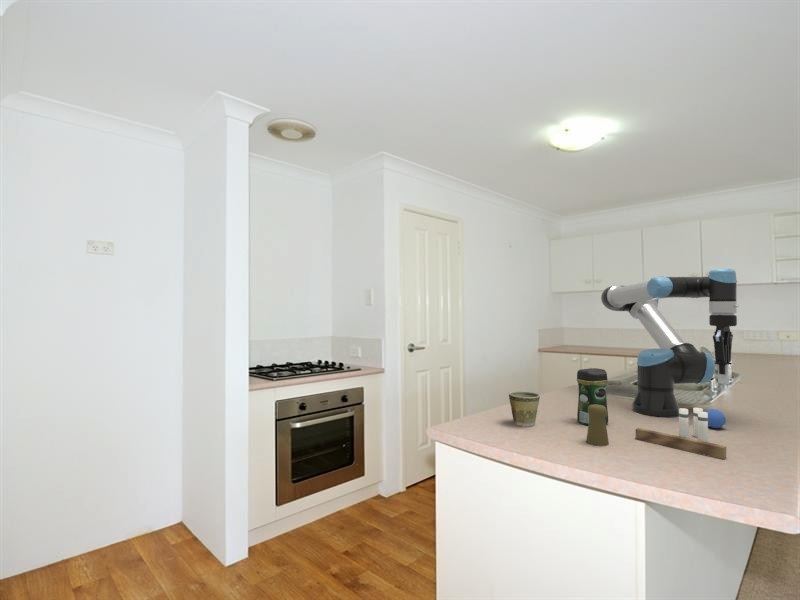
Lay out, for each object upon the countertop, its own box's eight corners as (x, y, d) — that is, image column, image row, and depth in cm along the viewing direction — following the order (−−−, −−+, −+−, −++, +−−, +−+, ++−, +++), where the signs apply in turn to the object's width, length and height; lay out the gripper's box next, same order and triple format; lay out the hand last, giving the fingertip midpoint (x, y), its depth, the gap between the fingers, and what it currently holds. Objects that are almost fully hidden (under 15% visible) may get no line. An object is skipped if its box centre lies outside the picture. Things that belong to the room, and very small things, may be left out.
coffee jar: (594, 418, 154) (594, 366, 154) (612, 424, 146) (612, 369, 147) (572, 421, 150) (572, 367, 151) (590, 427, 143) (589, 370, 143)
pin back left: (678, 437, 132) (678, 409, 132) (679, 435, 134) (679, 407, 134) (687, 439, 131) (687, 410, 131) (689, 437, 132) (689, 408, 132)
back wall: (635, 438, 131) (635, 428, 131) (638, 437, 132) (638, 427, 132) (723, 459, 114) (723, 447, 114) (726, 457, 115) (726, 446, 115)
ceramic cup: (533, 430, 140) (533, 398, 140) (504, 424, 146) (504, 395, 146) (546, 421, 150) (546, 392, 151) (519, 416, 157) (519, 388, 157)
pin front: (692, 436, 133) (692, 408, 133) (693, 434, 135) (693, 407, 135) (702, 438, 131) (702, 409, 131) (703, 436, 133) (703, 408, 133)
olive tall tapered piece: (611, 446, 124) (611, 407, 124) (588, 445, 125) (588, 406, 125) (605, 440, 130) (605, 403, 130) (584, 438, 131) (584, 402, 131)
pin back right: (697, 441, 128) (697, 412, 128) (698, 439, 130) (698, 410, 130) (707, 443, 127) (707, 413, 127) (708, 441, 129) (708, 412, 129)
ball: (701, 428, 142) (701, 409, 142) (704, 424, 147) (704, 406, 147) (724, 431, 138) (724, 412, 138) (726, 427, 143) (726, 409, 143)
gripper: (730, 314, 142) (731, 387, 141) (741, 314, 150) (742, 383, 150) (703, 314, 147) (704, 384, 147) (715, 313, 156) (716, 380, 155)
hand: (723, 383), depth 148 cm, fingers closed
